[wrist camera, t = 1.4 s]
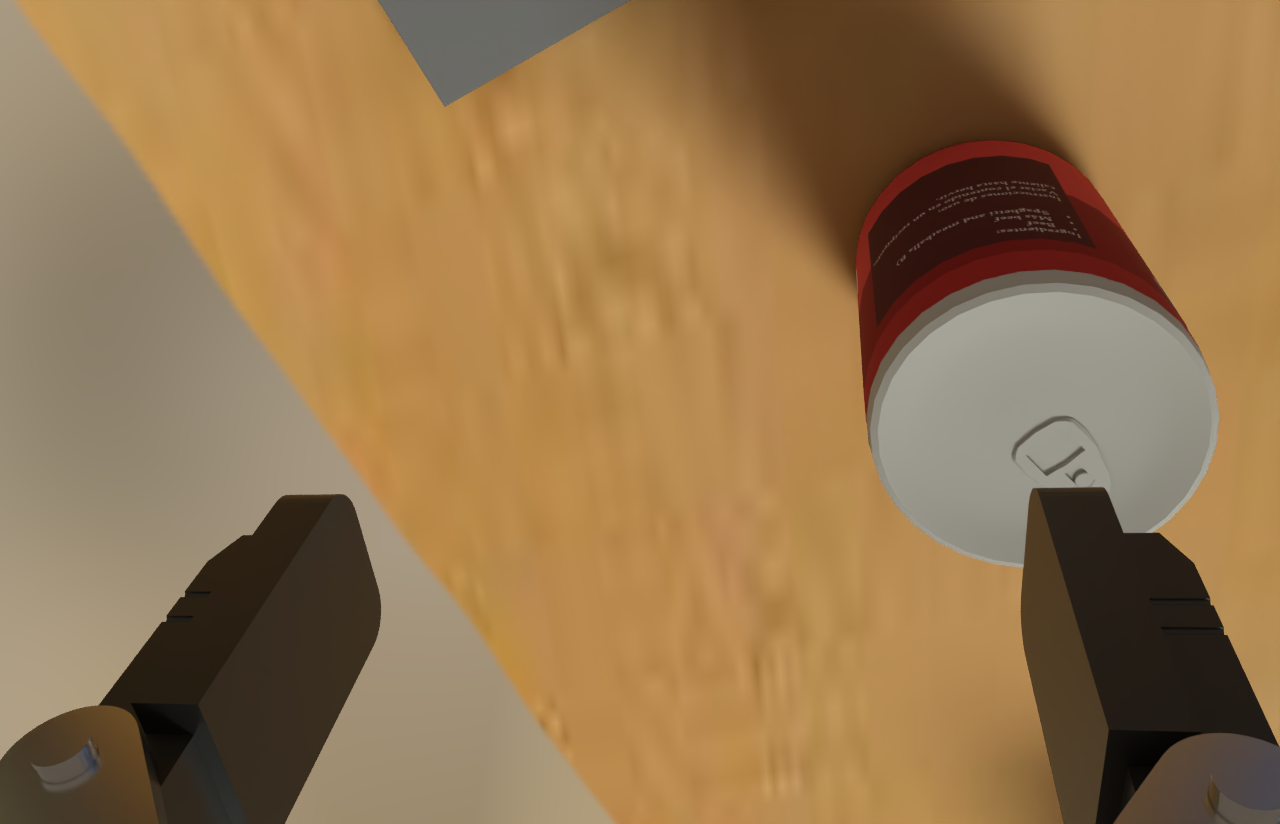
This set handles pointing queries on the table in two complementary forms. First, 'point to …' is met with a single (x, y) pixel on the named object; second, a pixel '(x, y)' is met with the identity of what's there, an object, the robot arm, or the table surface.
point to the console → (484, 35)
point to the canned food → (1020, 352)
